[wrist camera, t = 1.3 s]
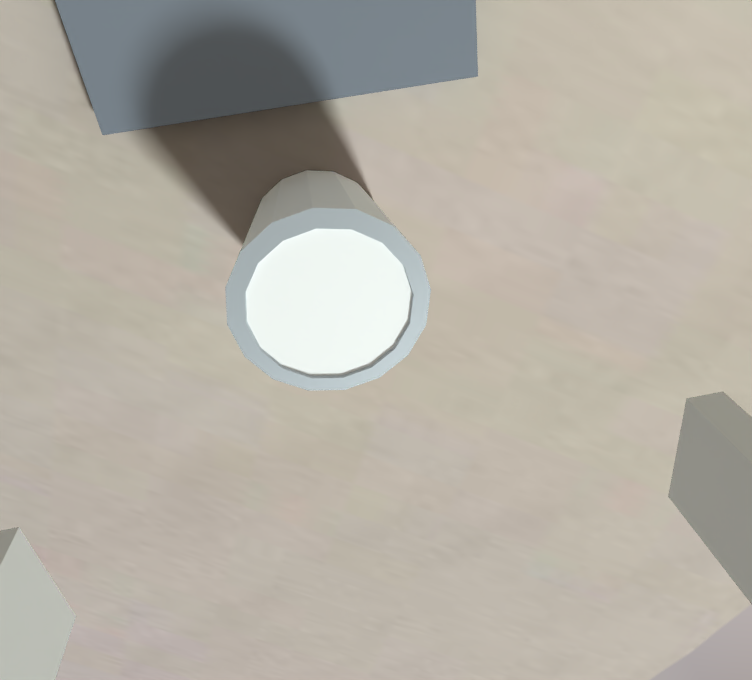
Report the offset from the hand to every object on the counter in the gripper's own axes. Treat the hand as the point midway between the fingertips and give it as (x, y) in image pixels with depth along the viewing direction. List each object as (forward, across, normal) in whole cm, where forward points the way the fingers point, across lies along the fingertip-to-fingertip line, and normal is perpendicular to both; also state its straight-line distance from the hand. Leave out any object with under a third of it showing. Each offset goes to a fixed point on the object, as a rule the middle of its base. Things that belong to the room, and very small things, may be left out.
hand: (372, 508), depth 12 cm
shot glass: (+16, 0, 0) cm, 16 cm away
